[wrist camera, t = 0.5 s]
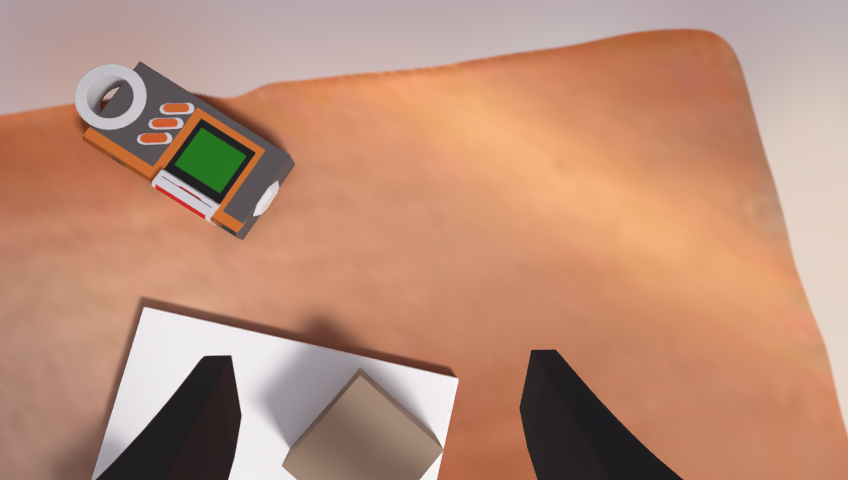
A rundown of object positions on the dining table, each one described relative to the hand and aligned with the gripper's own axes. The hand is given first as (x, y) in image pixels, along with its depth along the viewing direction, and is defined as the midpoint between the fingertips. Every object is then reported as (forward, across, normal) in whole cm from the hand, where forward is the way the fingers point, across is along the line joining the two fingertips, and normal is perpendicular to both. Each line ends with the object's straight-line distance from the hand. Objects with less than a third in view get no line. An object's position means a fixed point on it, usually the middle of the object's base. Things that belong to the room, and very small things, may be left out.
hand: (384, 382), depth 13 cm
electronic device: (+29, +14, +6) cm, 33 cm away
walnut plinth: (+16, +1, +21) cm, 26 cm away
